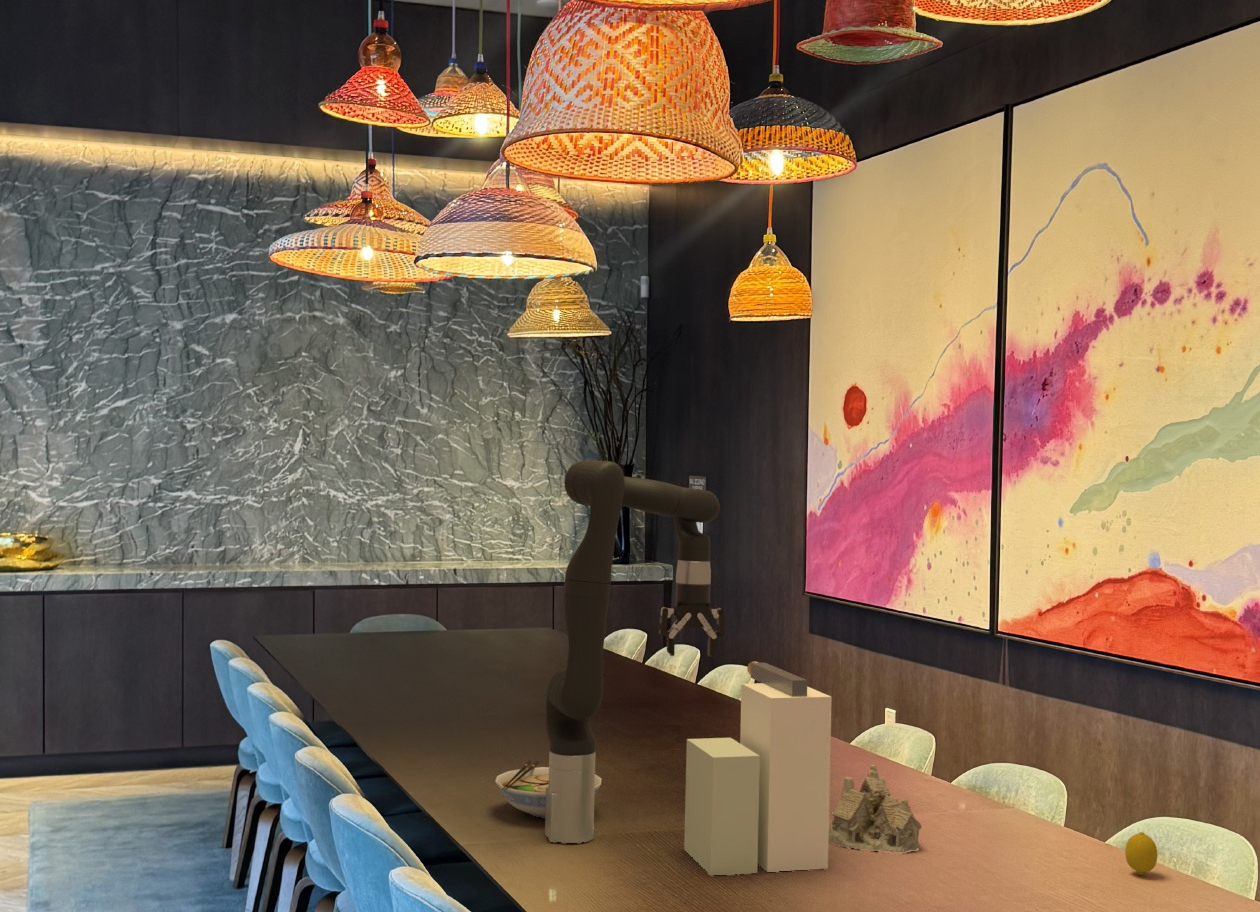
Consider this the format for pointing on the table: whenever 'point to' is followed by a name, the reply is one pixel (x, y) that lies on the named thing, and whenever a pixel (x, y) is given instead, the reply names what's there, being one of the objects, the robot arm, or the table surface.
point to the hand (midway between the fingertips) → (691, 655)
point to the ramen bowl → (528, 788)
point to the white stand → (790, 774)
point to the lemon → (1141, 853)
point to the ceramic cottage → (873, 818)
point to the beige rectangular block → (722, 806)
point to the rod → (778, 679)
